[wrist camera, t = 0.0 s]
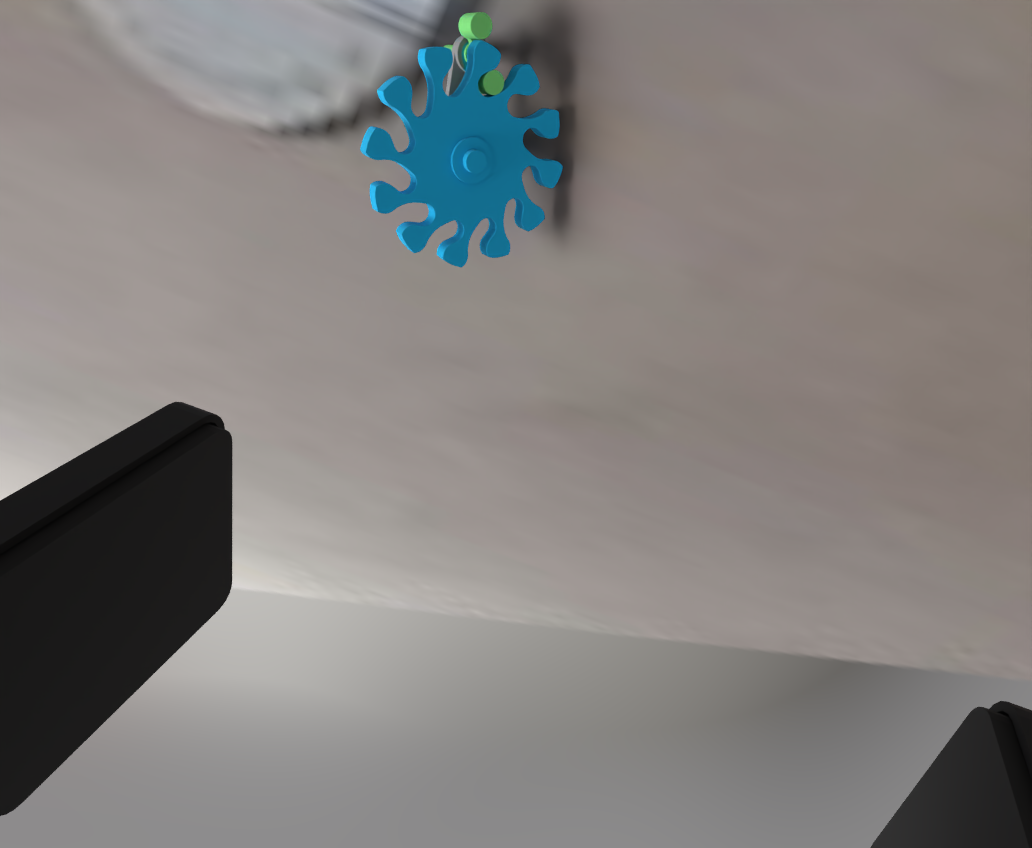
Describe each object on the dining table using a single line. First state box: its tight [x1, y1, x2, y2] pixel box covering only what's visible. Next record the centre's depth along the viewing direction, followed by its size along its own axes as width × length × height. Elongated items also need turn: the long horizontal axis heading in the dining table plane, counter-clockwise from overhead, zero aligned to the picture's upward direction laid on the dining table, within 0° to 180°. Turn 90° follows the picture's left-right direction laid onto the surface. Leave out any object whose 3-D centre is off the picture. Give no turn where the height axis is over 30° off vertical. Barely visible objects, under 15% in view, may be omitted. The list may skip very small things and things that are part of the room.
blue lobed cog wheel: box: [360, 12, 563, 267], centre depth 36 cm, size 11×6×10 cm
